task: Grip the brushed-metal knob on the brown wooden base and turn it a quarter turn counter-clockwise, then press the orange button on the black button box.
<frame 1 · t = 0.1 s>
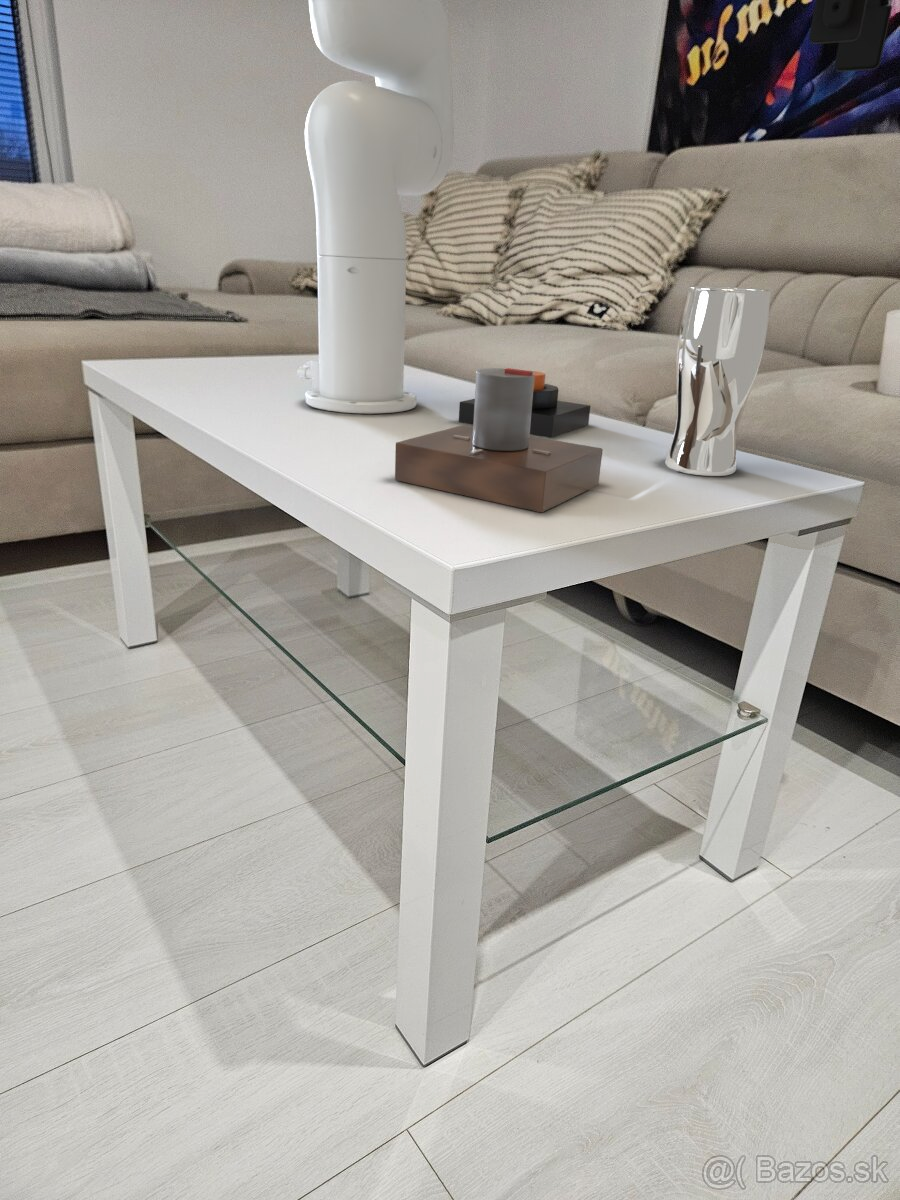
hand: (845, 56, 60), 31 cm above the table, tool pointing down, fingers open, 9 cm apart
knob: (503, 407, 63), point 6 cm above the table, hinge at 0.0°
beer glass: (699, 470, 74), on the table
button: (527, 381, 87), point 4 cm above the table, slide at 0.1 cm
brown wooden base: (497, 482, 66), on the table
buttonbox: (524, 424, 88), on the table
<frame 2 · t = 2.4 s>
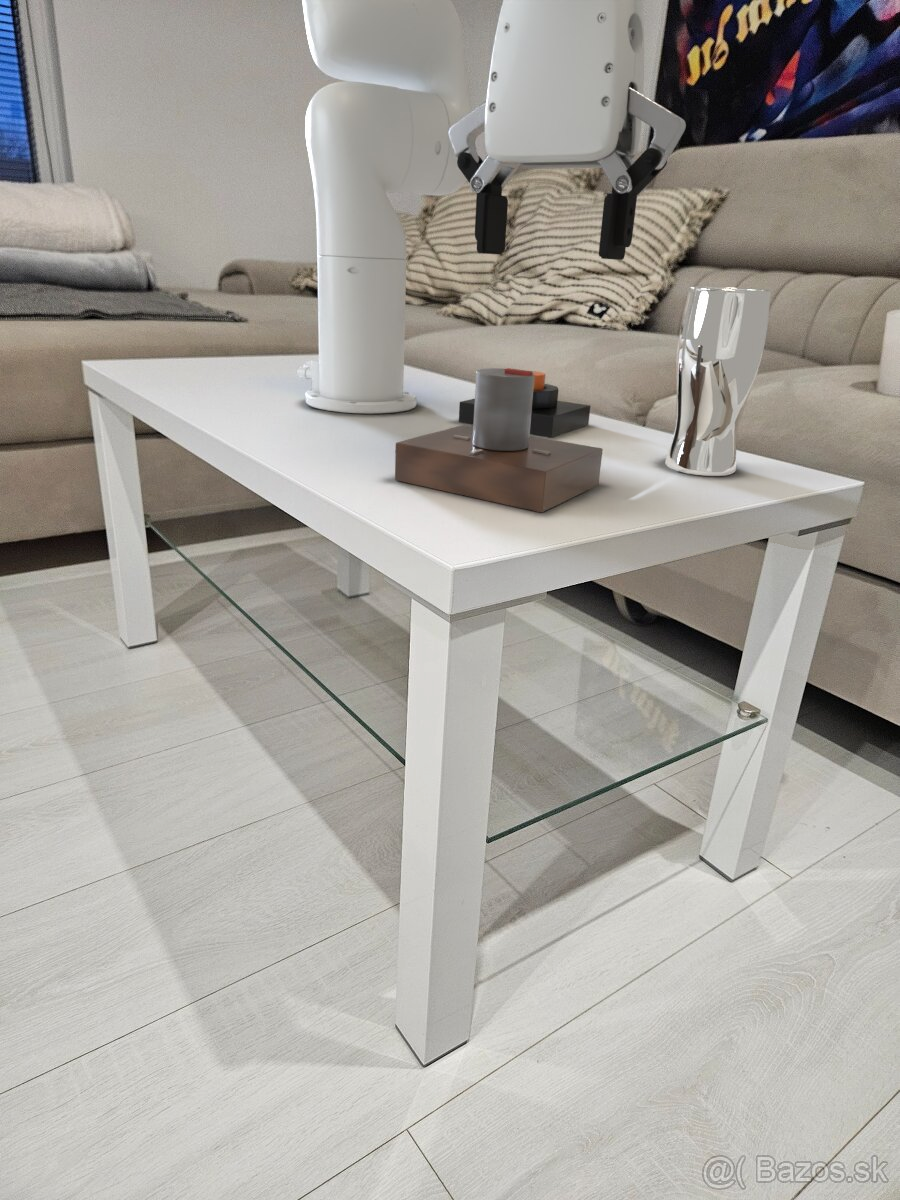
hand: (548, 256, 60), 17 cm above the table, tool pointing down, fingers open, 9 cm apart
nothing on the table moved.
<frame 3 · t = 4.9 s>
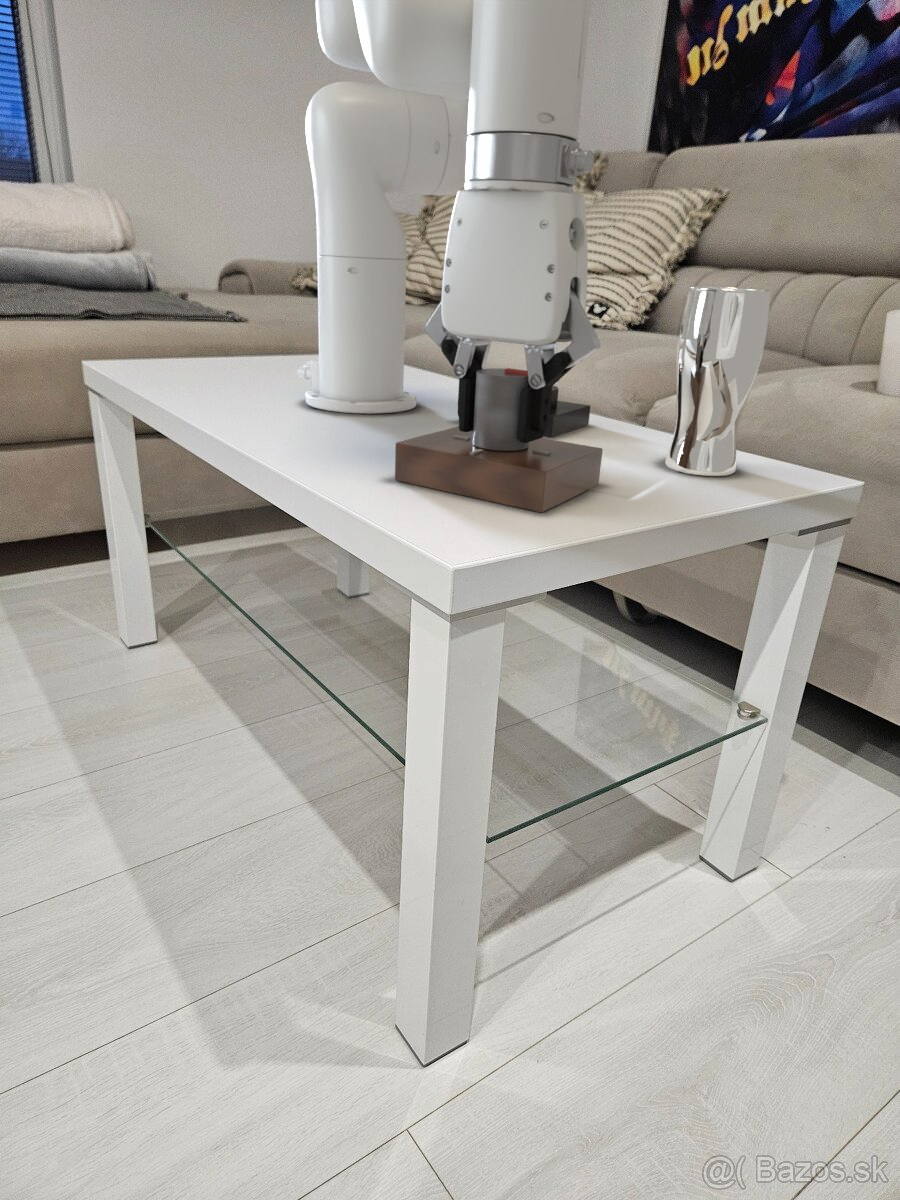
hand: (501, 431, 64), 4 cm above the table, tool pointing down, fingers closed on knob, 4 cm apart
knob: (503, 407, 63), point 6 cm above the table, hinge at 0.2°, touching gripper
everything else where it was.
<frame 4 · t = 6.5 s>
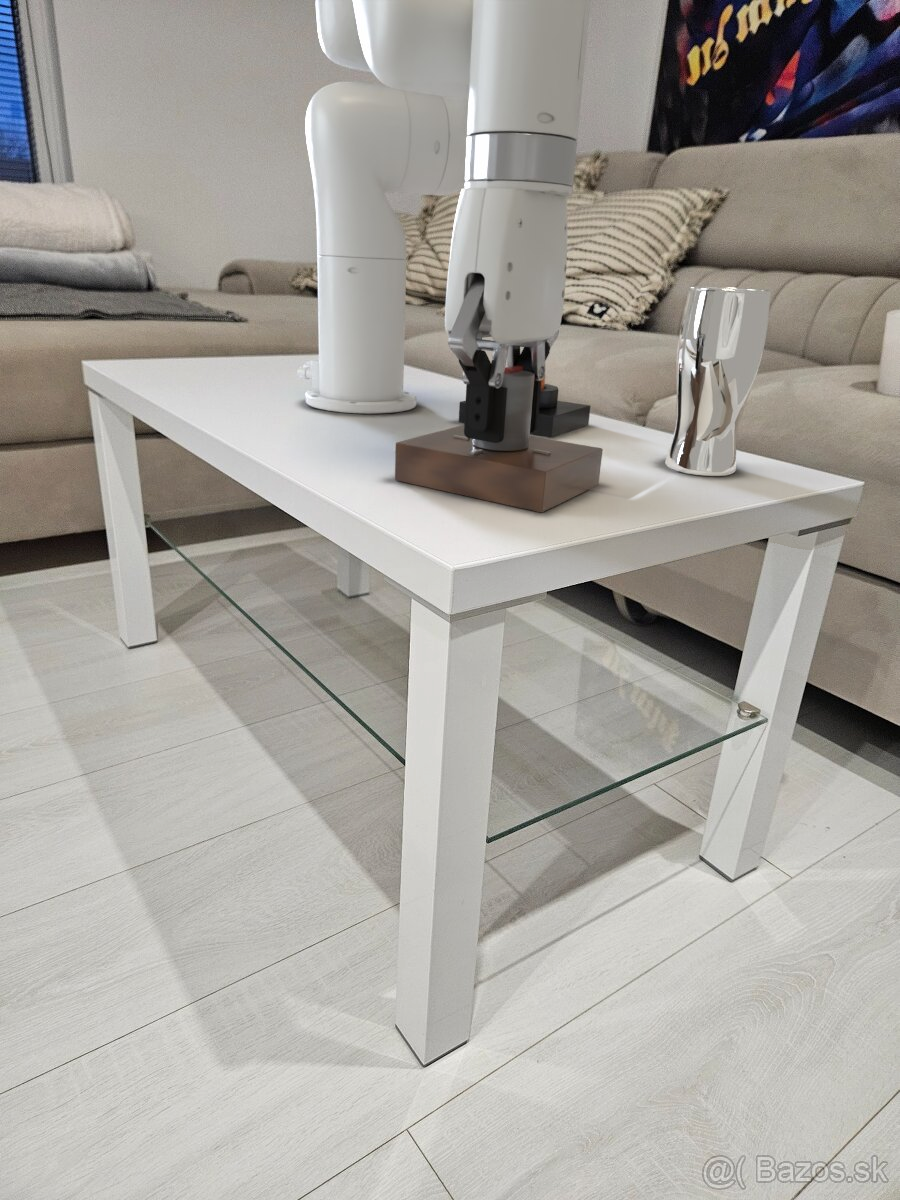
hand: (501, 432, 64), 4 cm above the table, tool pointing down, fingers closed on knob, 4 cm apart
knob: (503, 407, 63), point 6 cm above the table, hinge at 89.5°, touching gripper
everything else where it was.
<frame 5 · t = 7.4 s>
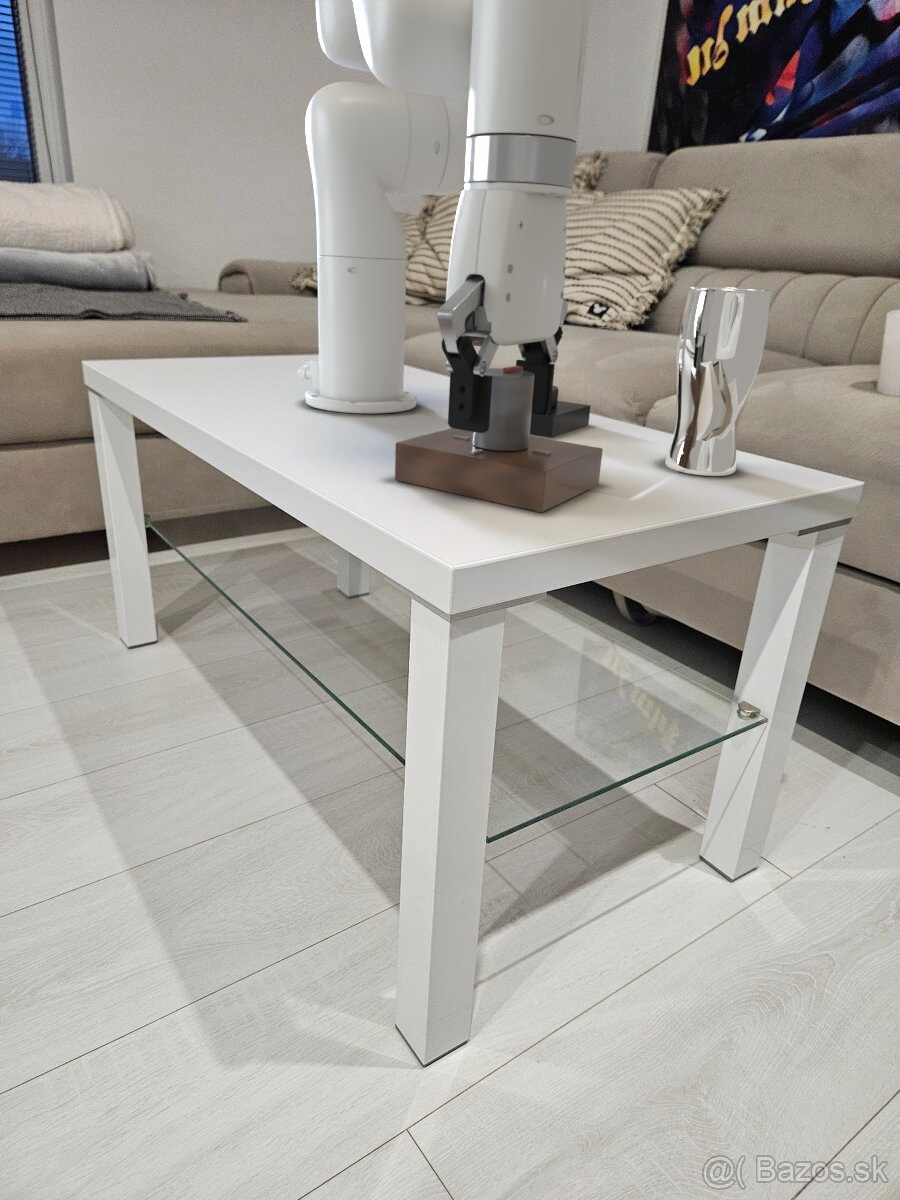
hand: (501, 420, 64), 5 cm above the table, tool pointing down, fingers open, 9 cm apart
knob: (503, 407, 63), point 6 cm above the table, hinge at 88.2°
everything else where it was.
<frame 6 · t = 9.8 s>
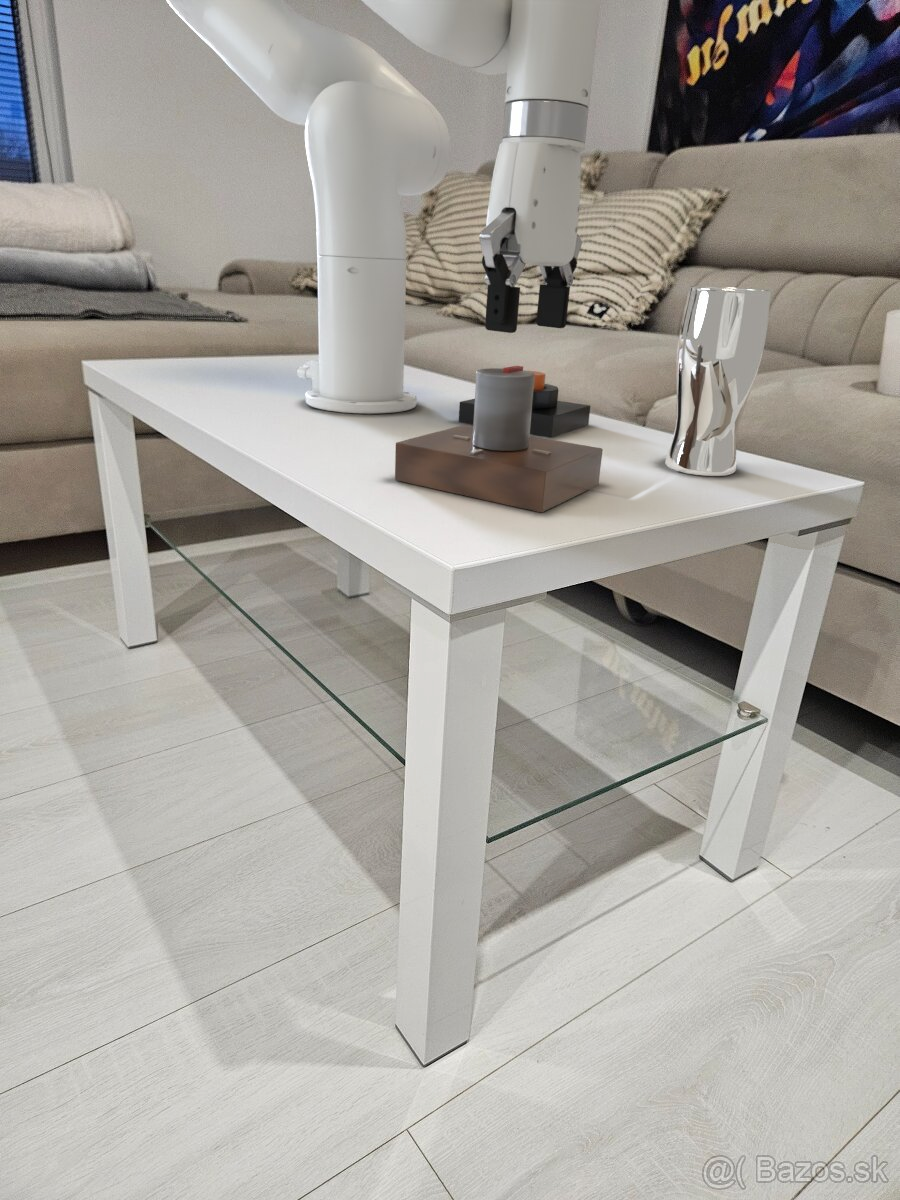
hand: (526, 328, 81), 10 cm above the table, tool pointing down, fingers open, 9 cm apart
nothing on the table moved.
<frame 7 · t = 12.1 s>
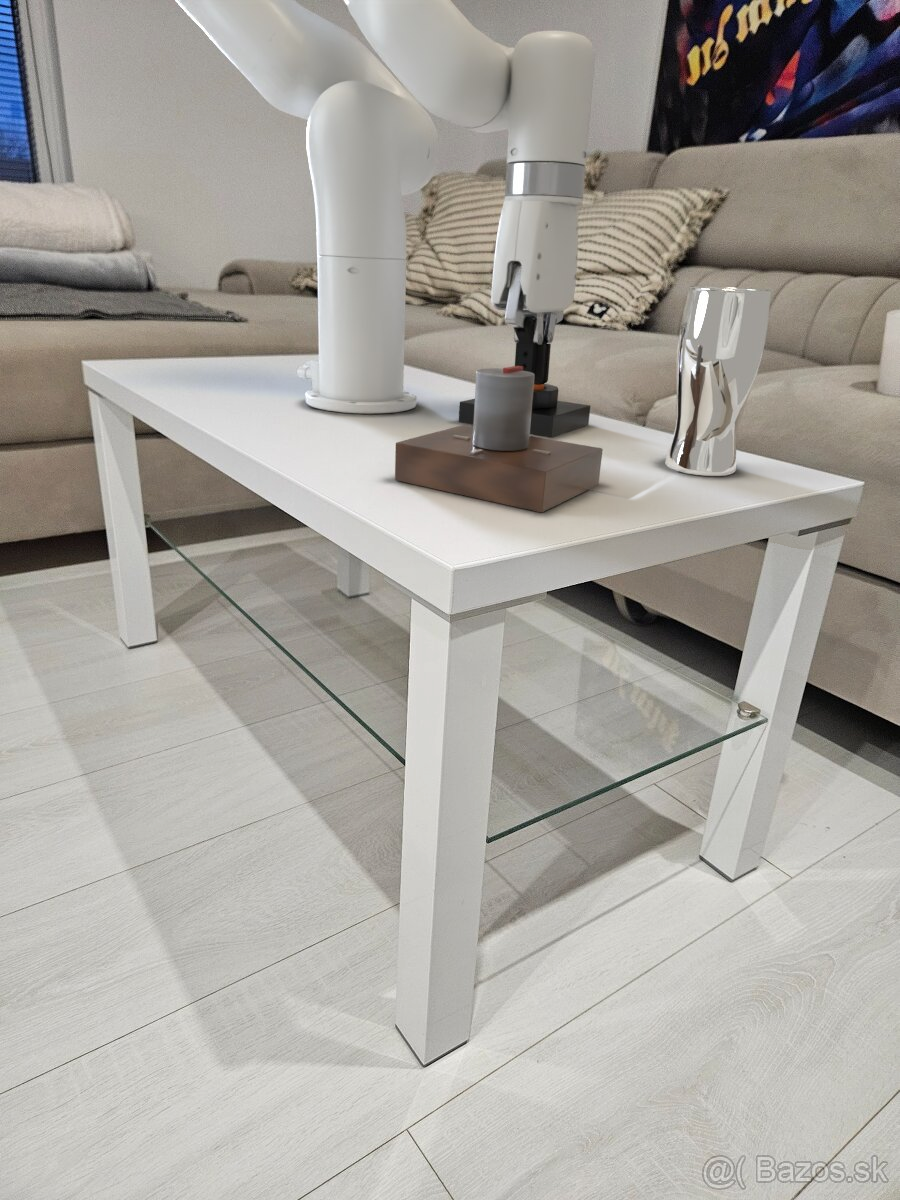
hand: (530, 382, 86), 4 cm above the table, tool pointing down, fingers closed
button: (526, 390, 87), point 4 cm above the table, slide at -0.8 cm, touching gripper
everything else where it was.
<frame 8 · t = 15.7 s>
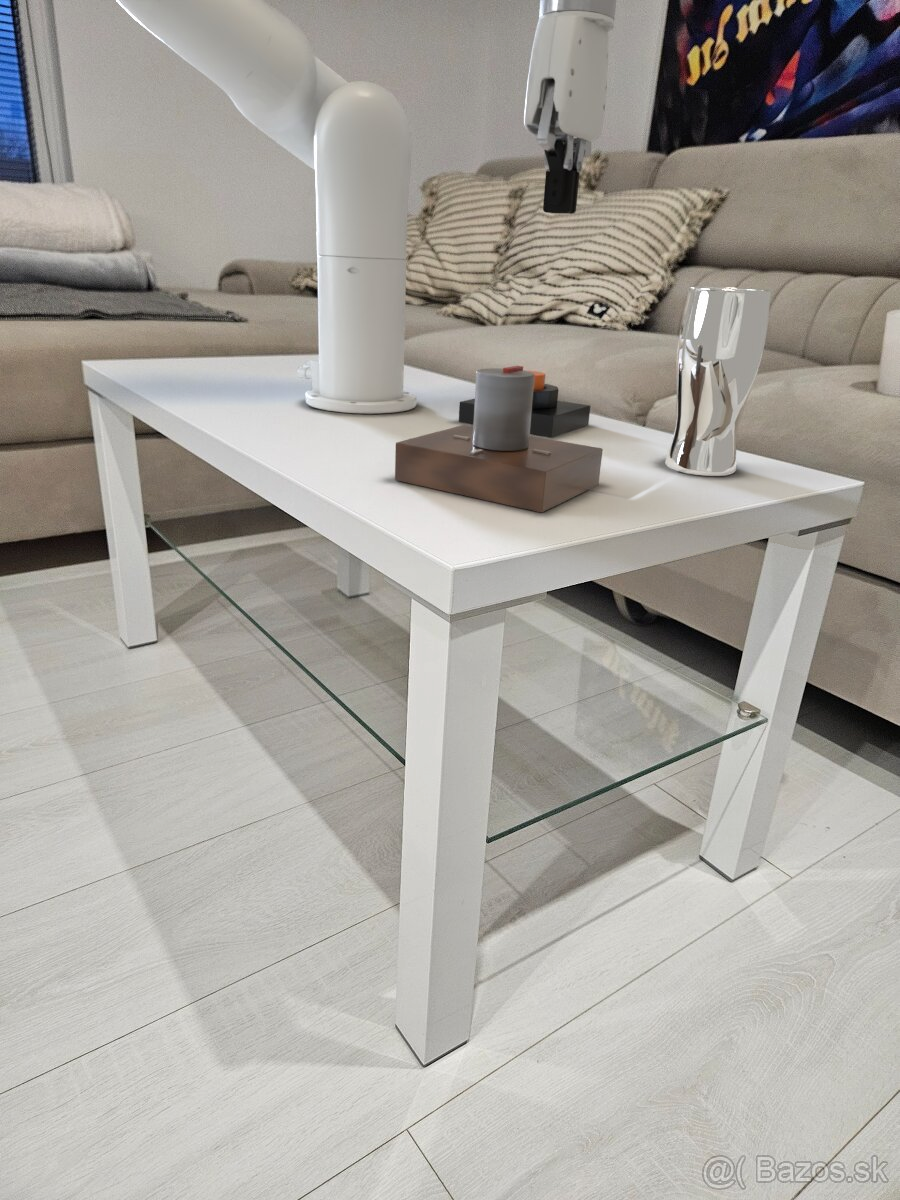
hand: (559, 212, 89), 21 cm above the table, tool pointing down, fingers closed
button: (527, 381, 87), point 4 cm above the table, slide at 0.1 cm
everything else where it was.
at the end: knob at +88° (first picture: +0°); button pushed in 1.0 cm at the most during the clip, back to where it started at the end; button slide at 0.1 cm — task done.
